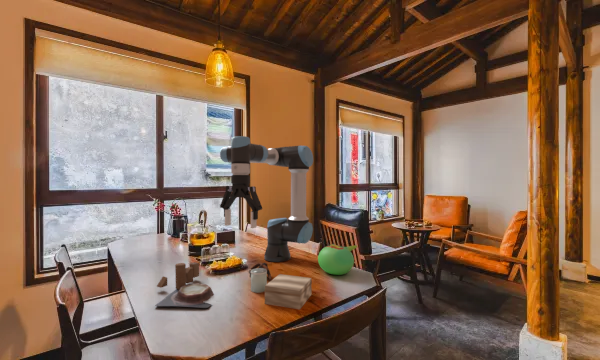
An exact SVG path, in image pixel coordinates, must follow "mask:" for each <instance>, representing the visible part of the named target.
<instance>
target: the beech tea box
mask: <svg viewBox="0 0 600 360" xmlns="http://www.w3.org/2000/svg"><path fill="white" fill-rule="evenodd" d="M311 296H312V277H307V276H306V277H305V276H298V275H289V274H282V273H279V274H278V275H277V276H275V277H274V278H273V279H271V280H269V281H268V282H267V284H266V285H265V291H264V304H265V305H270V306H277V307H284V308H289V309H294V310H301V309H302V307H303V306H304V305H305V304H306V302H308V300H309V298H310V297H311Z"/></svg>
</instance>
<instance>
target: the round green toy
mask: <svg viewBox="0 0 600 360" xmlns="http://www.w3.org/2000/svg"><path fill="white" fill-rule="evenodd" d="M357 248H358V245H355V244H354V245H349V246H343V245H336V244H335V243H332V244H329V245H327V246H324V247H323V248H322V249H321V250H320V251H319V253H318V256H317V261H318V265H319V267H320V268H321V269H322V270H323V272H326V273H327V274H331V275H333V276H340V275H341V276H342V275H345V274H348V273H349V272H350V271H351V270H352V269H353V267H354V265H355V264H354V263H355V258H354V255H353V253H352V251H353V250H355V249H357Z"/></svg>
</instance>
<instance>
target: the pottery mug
mask: <svg viewBox="0 0 600 360" xmlns="http://www.w3.org/2000/svg"><path fill="white" fill-rule="evenodd" d="M256 268H263V269H266V270H267V279H268V281H272V274H271V271H270V269H269V266H268V263H266V262H263V263H262V262H258V263H256V264H254V265H253V266H252V267H251V268H250V269H249V271H248V274H249V278H250V279H251V270H252V269H256Z"/></svg>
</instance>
